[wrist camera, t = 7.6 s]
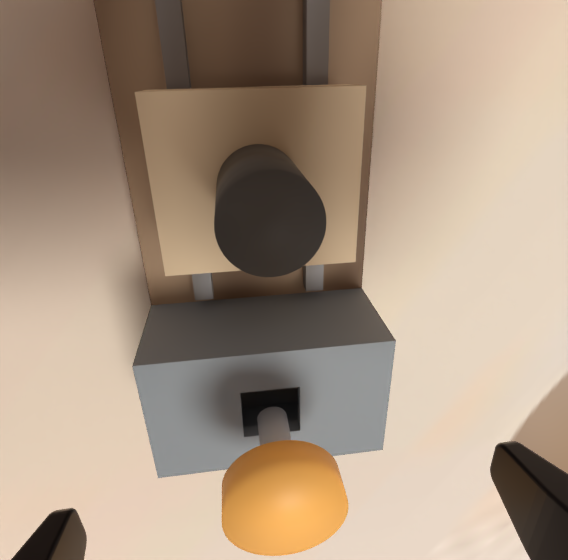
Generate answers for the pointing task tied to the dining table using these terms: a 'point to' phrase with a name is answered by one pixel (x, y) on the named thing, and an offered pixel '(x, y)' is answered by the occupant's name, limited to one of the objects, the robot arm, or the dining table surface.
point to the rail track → (235, 73)
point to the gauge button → (282, 492)
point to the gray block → (262, 375)
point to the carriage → (254, 176)
